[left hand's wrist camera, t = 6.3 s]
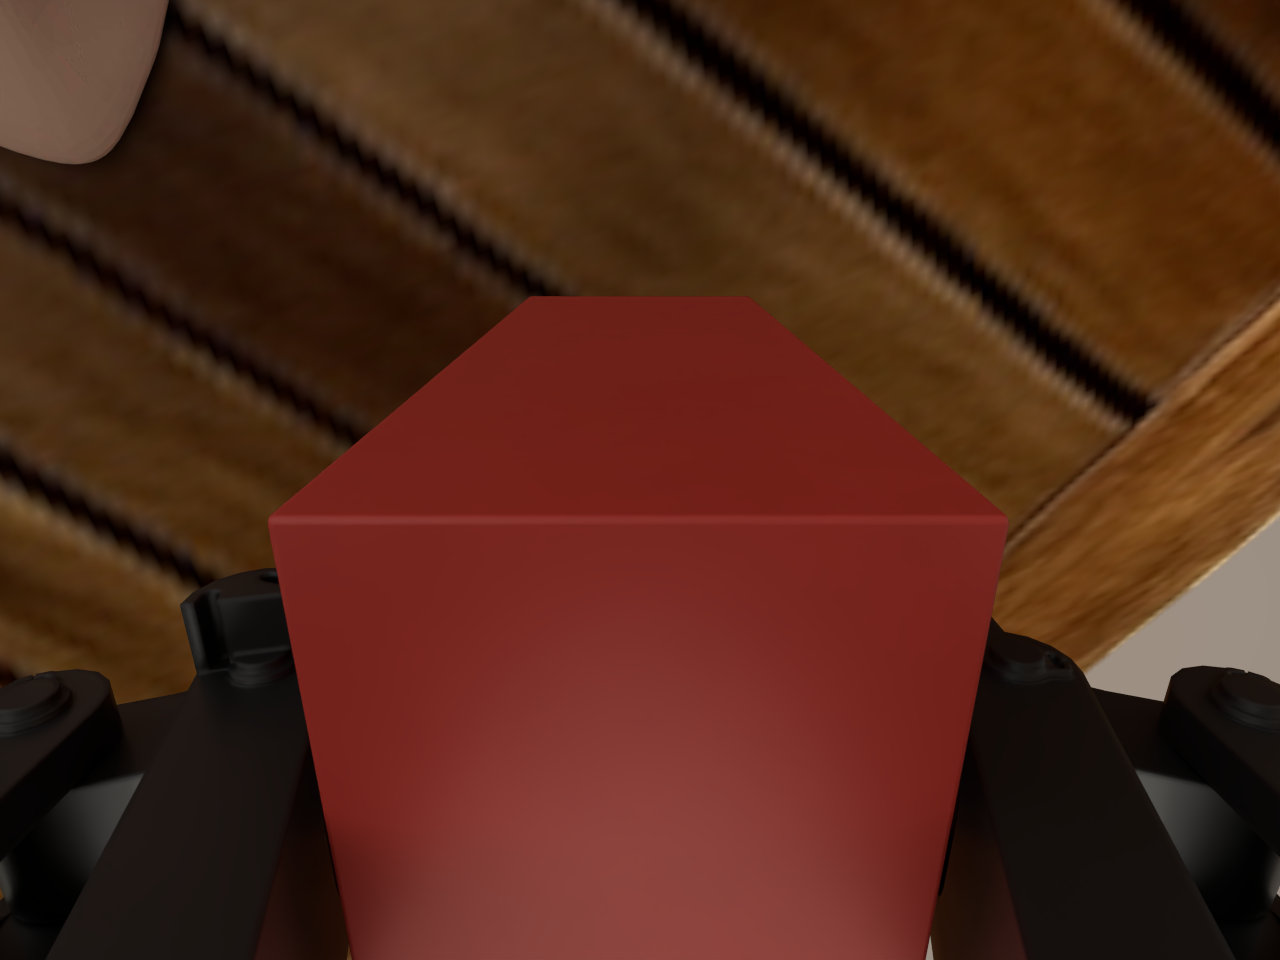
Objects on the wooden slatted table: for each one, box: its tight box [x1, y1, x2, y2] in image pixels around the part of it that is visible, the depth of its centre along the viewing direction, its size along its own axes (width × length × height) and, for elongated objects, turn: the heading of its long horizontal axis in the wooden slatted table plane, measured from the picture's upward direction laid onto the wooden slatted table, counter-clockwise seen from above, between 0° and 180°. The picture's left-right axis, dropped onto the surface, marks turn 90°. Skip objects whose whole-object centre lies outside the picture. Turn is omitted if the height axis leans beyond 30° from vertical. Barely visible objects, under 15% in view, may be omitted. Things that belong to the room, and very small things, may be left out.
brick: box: [268, 296, 1009, 960], centre depth 11 cm, size 7×5×12 cm, turn 0°
